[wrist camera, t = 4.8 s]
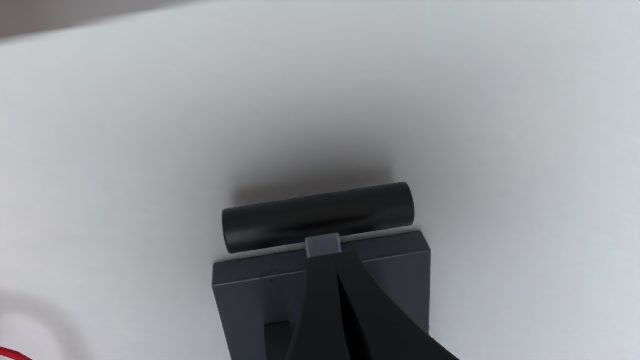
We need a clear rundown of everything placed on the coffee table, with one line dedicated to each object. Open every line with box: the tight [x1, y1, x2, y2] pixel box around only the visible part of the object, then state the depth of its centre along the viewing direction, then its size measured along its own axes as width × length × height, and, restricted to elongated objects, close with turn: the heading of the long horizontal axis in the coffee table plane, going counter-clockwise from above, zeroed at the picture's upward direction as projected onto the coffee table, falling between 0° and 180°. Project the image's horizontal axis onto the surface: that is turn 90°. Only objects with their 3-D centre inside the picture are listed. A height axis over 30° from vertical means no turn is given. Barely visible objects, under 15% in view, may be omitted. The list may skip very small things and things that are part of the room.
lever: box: [222, 182, 414, 258], centre depth 17 cm, size 10×6×2 cm, turn 5°
